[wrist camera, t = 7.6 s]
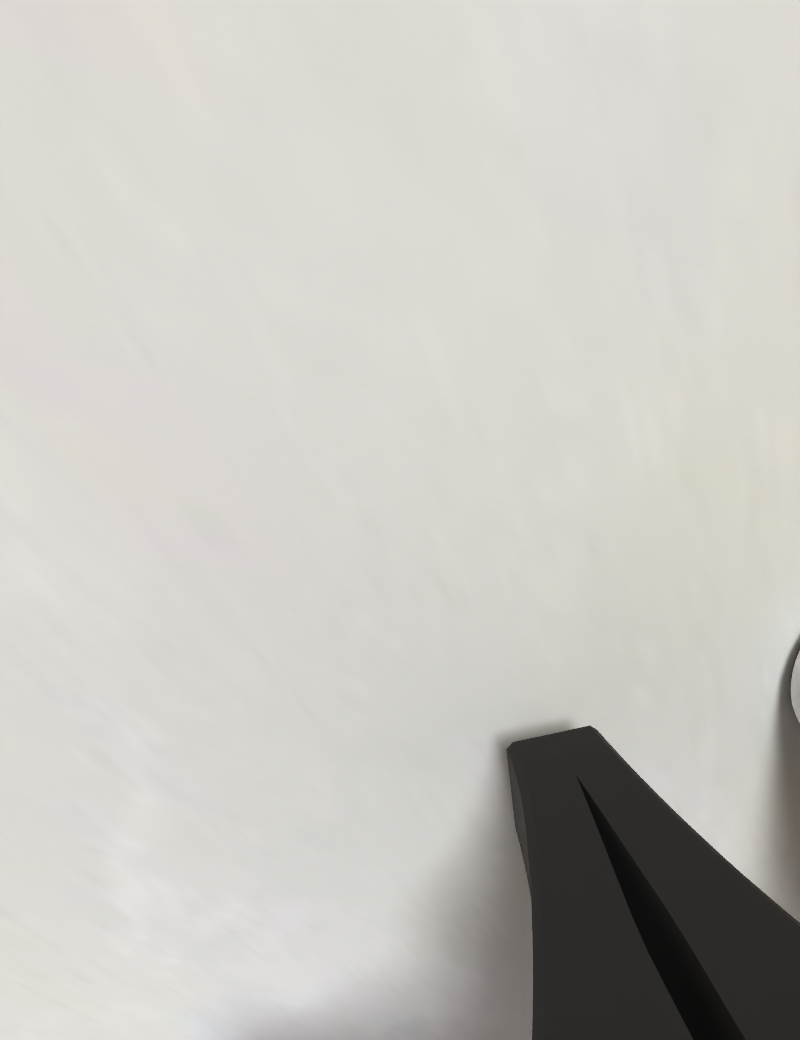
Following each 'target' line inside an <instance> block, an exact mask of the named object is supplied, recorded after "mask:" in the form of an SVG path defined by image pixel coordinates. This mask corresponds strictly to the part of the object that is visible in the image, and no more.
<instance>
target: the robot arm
mask: <svg viewBox="0 0 800 1040" xmlns="http://www.w3.org/2000/svg"><path fill="white" fill-rule="evenodd" d="M507 757H508V766H509V775H510V783H511V792H512V800H513V809H514V818H515V826H516V831H517V834H518V838H519V842H520V846H521V850H522V854H523V859H524V863H525V868H526V873H527V878H528V883H529V888H530V894H531V900H532V931H533V1029H532V1040H800V923H799V922H798V921H797V920H796V919H794V918H793V917H792V916H791V915H790V914H788V913H787V912H786V911H785V910H783V909H782V908H781V907H780V906H779V905H778V904H776V903H775V902H774V901H773V900H772V899H771V898H769V897H768V896H767V895H766V894H765V893H764V892H762V891H761V890H760V889H759V888H758V887H757V886H755V885H754V884H753V883H752V882H751V881H750V880H749V879H747V878H746V877H745V876H744V875H743V874H742V873H740V872H739V871H738V870H737V869H736V868H735V867H734V866H733V865H732V864H730V863H729V862H728V861H727V860H726V859H725V858H724V857H723V856H722V855H720V854H719V853H718V852H717V851H716V850H715V849H714V848H713V847H712V846H711V845H710V844H709V843H708V842H707V841H705V840H704V839H703V838H702V837H701V836H700V835H699V834H698V833H697V832H696V831H695V830H694V829H693V828H692V827H691V826H690V825H688V824H687V823H686V822H685V821H684V820H683V819H682V818H681V817H680V816H679V815H678V814H677V813H676V812H675V811H674V810H673V809H672V808H671V807H670V806H669V805H668V804H667V803H666V802H665V801H664V800H663V799H662V798H661V797H660V796H659V795H658V794H657V793H656V792H655V791H654V790H653V789H652V788H651V787H650V786H649V785H648V784H647V783H646V782H645V781H644V780H643V779H642V778H641V777H640V776H639V775H638V774H637V773H636V772H635V771H634V770H633V769H632V768H631V767H630V766H629V765H628V764H627V762H626V761H625V760H624V759H623V758H622V757H621V756H620V755H619V754H618V753H617V752H616V751H615V749H614V748H613V747H612V746H611V745H610V744H609V743H608V742H607V741H606V740H605V738H604V737H603V736H602V735H601V734H600V733H599V732H598V730H596V729H595V728H593V727H591V726H586V727H582V728H577V729H572V730H568V731H563V732H559V733H554V734H549V735H545V736H540V737H536V738H531V739H526V740H522V741H517V742H513V743H512V744H511V745H510V746H509V747H508V748H507Z"/></svg>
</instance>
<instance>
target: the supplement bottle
mask: <svg viewBox="0 0 800 1040" xmlns="http://www.w3.org/2000/svg"><path fill="white" fill-rule="evenodd" d="M791 699H792V705H793V708H794V712H795V714H796V717H797V719H798V721H799V723H800V651H799V653H798V656H797V659H796V661H795V665H794V669H793V673H792V679H791Z"/></svg>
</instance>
